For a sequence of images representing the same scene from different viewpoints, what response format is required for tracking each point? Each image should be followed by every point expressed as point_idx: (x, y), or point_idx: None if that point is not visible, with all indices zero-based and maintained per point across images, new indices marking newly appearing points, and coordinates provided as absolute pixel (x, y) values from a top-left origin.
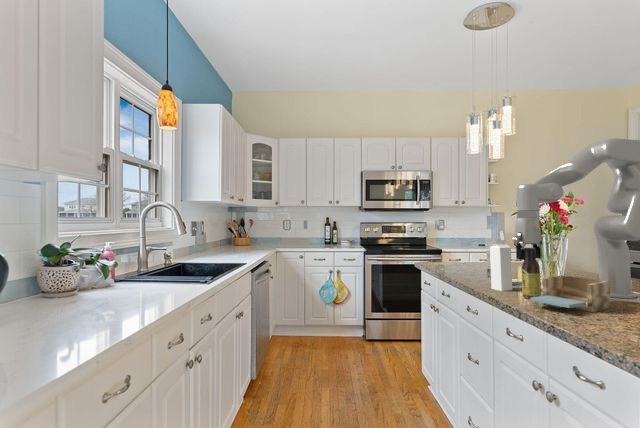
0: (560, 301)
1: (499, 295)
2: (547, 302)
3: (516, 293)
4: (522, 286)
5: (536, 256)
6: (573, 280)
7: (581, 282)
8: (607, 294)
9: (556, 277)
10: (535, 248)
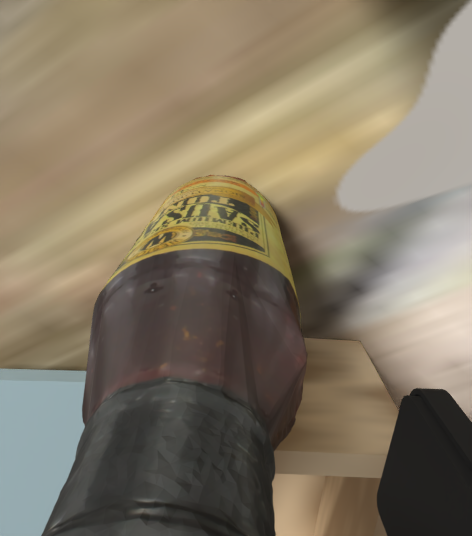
0: (21, 499)
1: (109, 5)
2: None
3: (302, 57)
4: (161, 208)
5: (393, 489)
6: (364, 517)
7: None
8: None
9: (289, 471)
10: None
